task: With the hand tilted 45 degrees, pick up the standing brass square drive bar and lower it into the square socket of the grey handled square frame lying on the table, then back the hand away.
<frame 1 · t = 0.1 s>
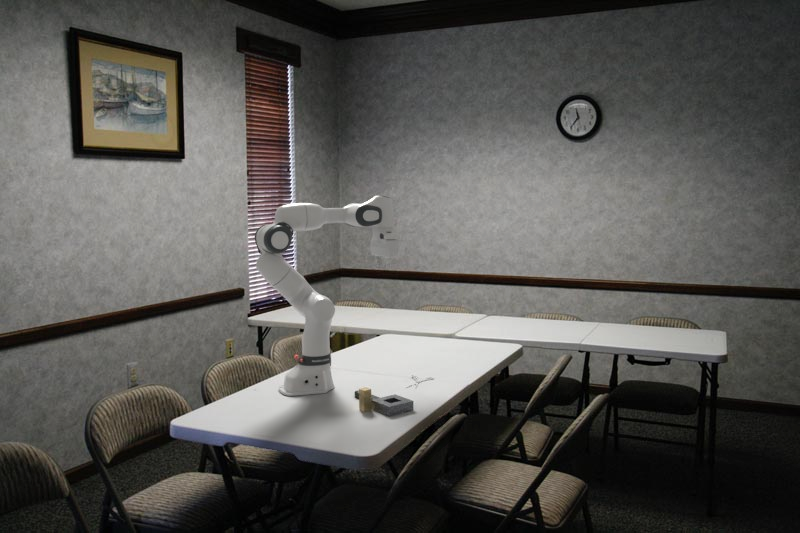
hand: (383, 267, 292), 48 cm above the table, tool pointing down, fingers open, 8 cm apart
drive bar: (365, 410, 254), on the table
grey handled square frame: (392, 409, 254), on the table
scissors: (417, 383, 291), on the table
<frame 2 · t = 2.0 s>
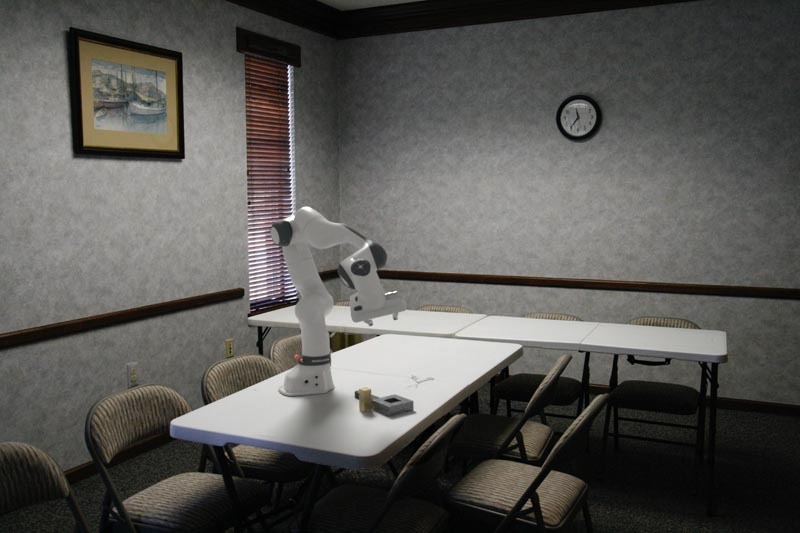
hand: (383, 321, 255), 32 cm above the table, tool tilted 40°, fingers open, 8 cm apart
nothing on the table moved.
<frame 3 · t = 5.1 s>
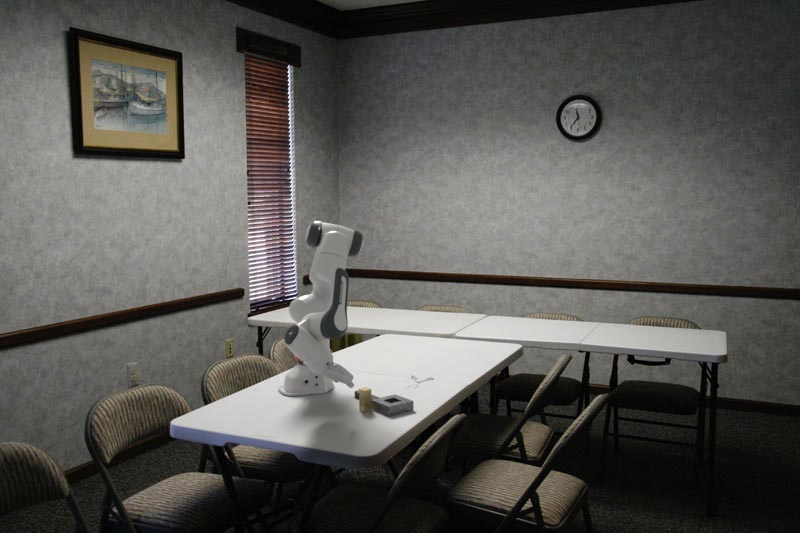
hand: (344, 383, 247), 12 cm above the table, tool tilted 45°, fingers open, 8 cm apart
nothing on the table moved.
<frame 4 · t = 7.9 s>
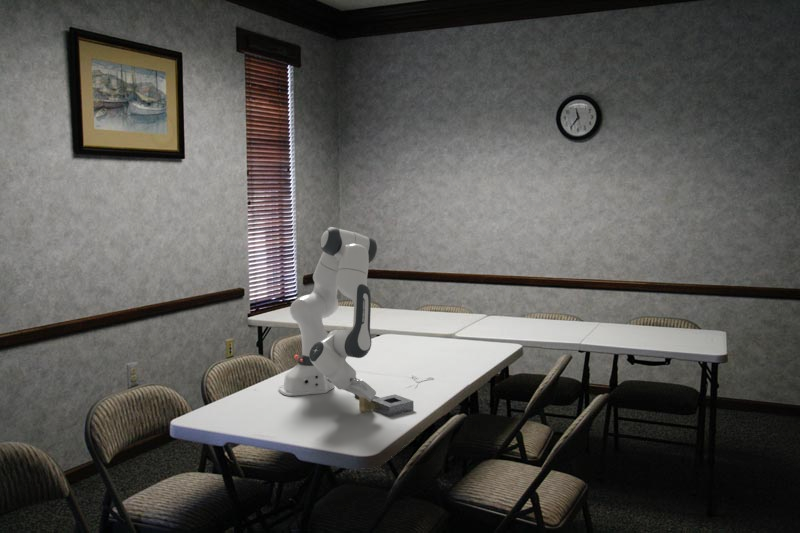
hand: (366, 398, 254), 4 cm above the table, tool tilted 45°, fingers closed on drive bar, 3 cm apart
drive bar: (365, 410, 254), on the table, touching gripper
everything else where it was.
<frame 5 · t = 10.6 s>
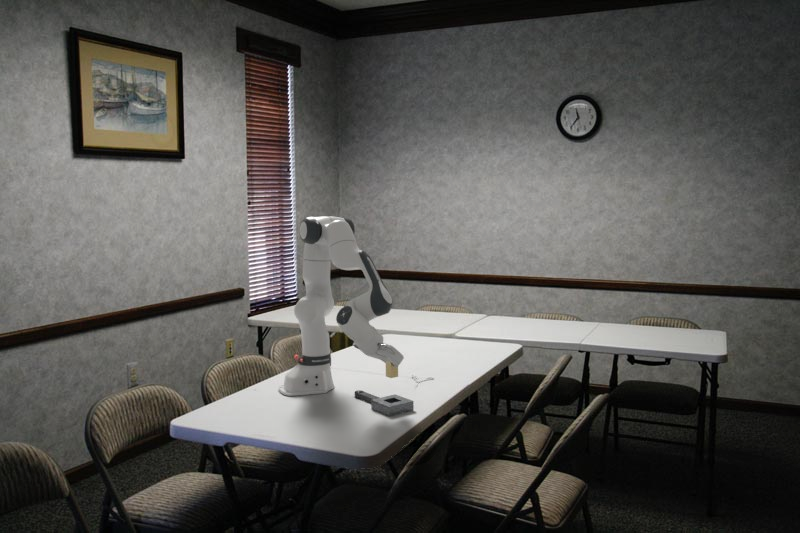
hand: (393, 364, 253), 17 cm above the table, tool tilted 45°, fingers closed on drive bar, 3 cm apart
drive bar: (392, 376, 253), point 12 cm above the table, touching gripper
everything else where it was.
when the fingers open (6 cm above the table, at t = 13.2 s): drive bar drops 2 cm, resting in grey handled square frame.
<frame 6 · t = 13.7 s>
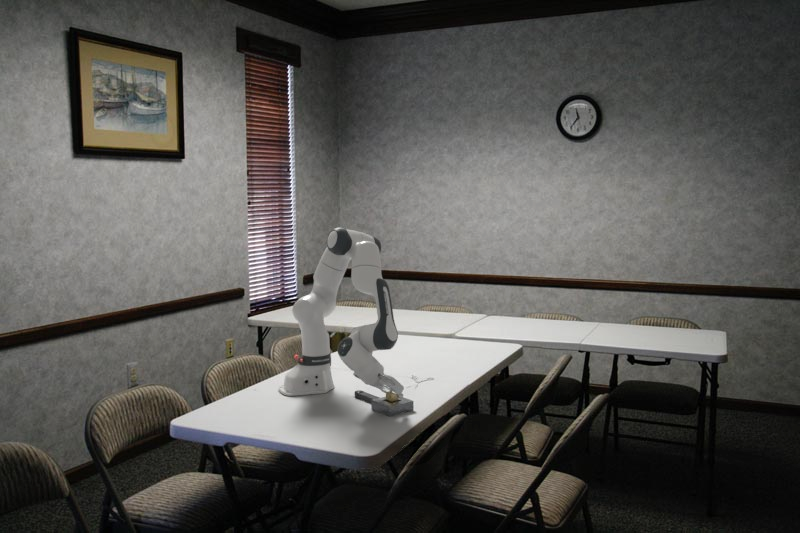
hand: (393, 393, 254), 6 cm above the table, tool tilted 45°, fingers open, 8 cm apart
drive bar: (392, 409, 254), resting in grey handled square frame
everything else where it was.
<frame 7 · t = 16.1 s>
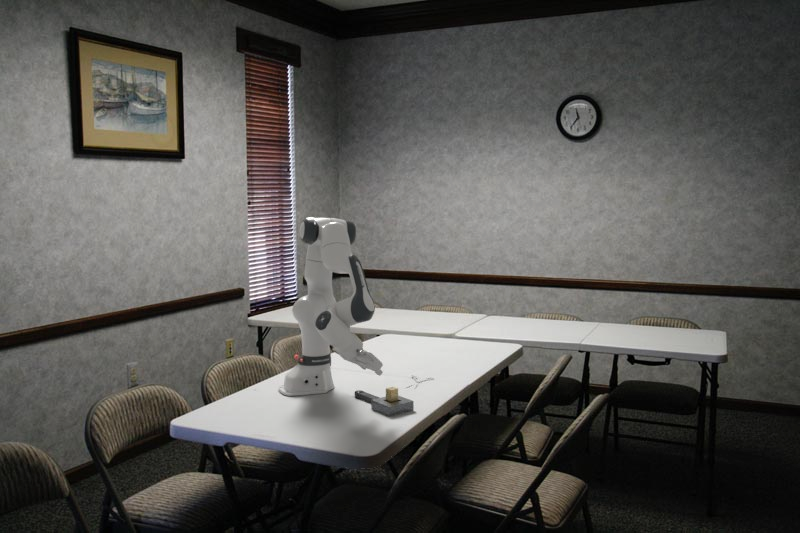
hand: (372, 370, 249), 15 cm above the table, tool tilted 45°, fingers open, 8 cm apart
nothing on the table moved.
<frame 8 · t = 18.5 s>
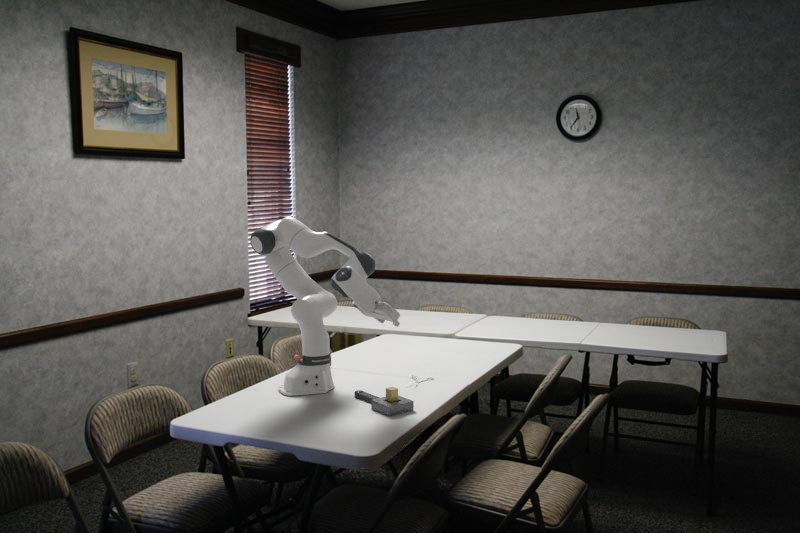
hand: (390, 323, 265), 29 cm above the table, tool tilted 45°, fingers open, 8 cm apart
nothing on the table moved.
at the end: drive bar 0.1 cm off-centre on the grey handled square frame, point 0.0 cm above the grey handled square frame's base; drive bar tilted 0°; the gripper is holding nothing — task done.
